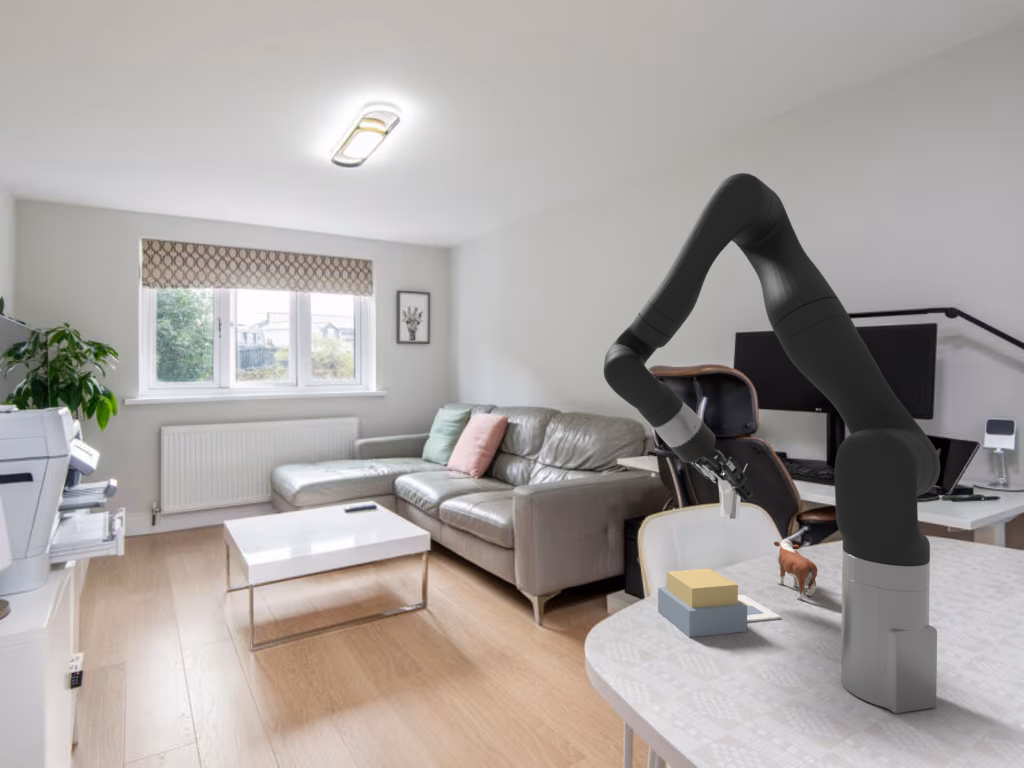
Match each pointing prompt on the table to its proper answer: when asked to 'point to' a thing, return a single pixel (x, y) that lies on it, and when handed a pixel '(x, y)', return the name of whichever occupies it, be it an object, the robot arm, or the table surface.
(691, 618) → the tower base
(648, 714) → the table surface
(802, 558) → the bull figurine
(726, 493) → the milkshake
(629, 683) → the table surface
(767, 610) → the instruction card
